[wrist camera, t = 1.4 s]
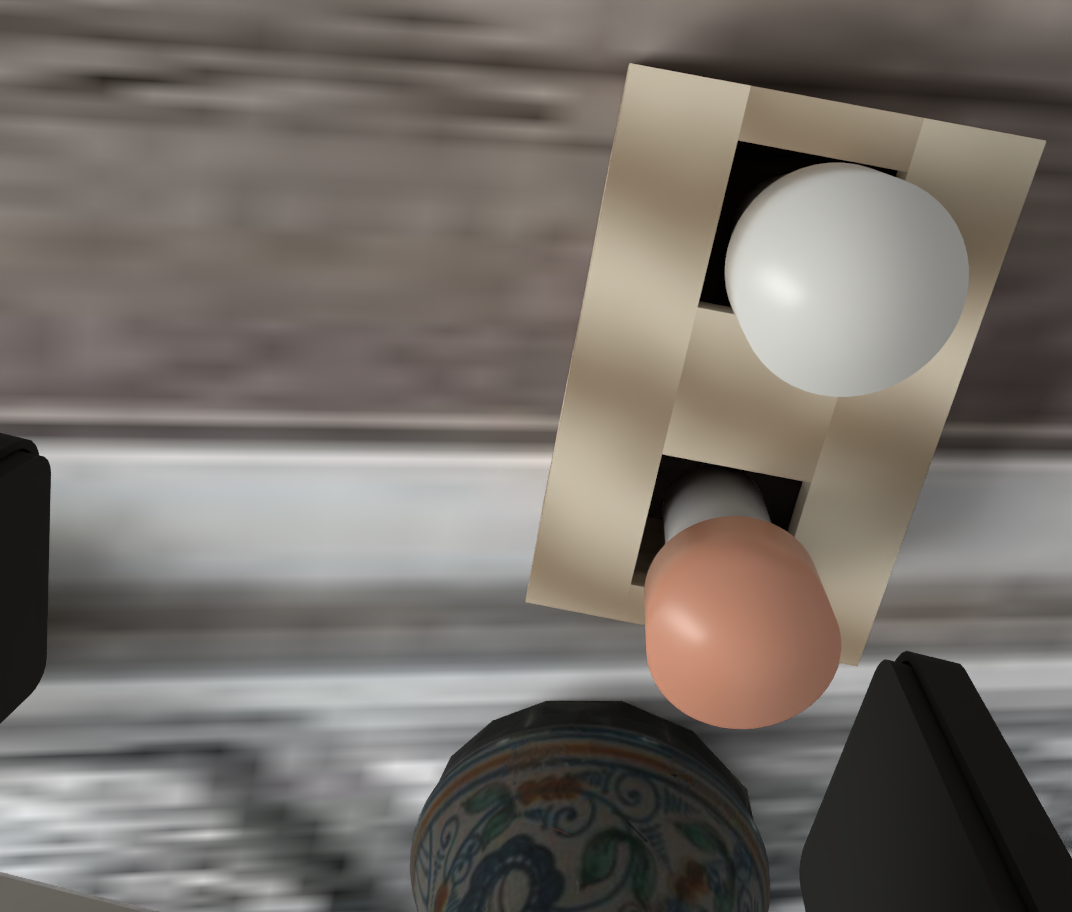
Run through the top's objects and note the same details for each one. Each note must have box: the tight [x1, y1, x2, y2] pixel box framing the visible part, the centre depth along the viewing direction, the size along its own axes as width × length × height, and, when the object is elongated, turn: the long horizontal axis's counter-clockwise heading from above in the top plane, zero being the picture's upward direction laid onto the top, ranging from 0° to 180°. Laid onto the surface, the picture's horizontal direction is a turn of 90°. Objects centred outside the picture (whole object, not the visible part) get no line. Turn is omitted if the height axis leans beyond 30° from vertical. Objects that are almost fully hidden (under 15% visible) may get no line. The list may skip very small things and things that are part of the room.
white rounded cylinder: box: [725, 163, 969, 397], centre depth 26 cm, size 5×5×9 cm
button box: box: [525, 63, 1046, 666], centre depth 34 cm, size 18×12×7 cm, turn 170°
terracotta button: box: [644, 464, 841, 729], centre depth 30 cm, size 5×5×9 cm
